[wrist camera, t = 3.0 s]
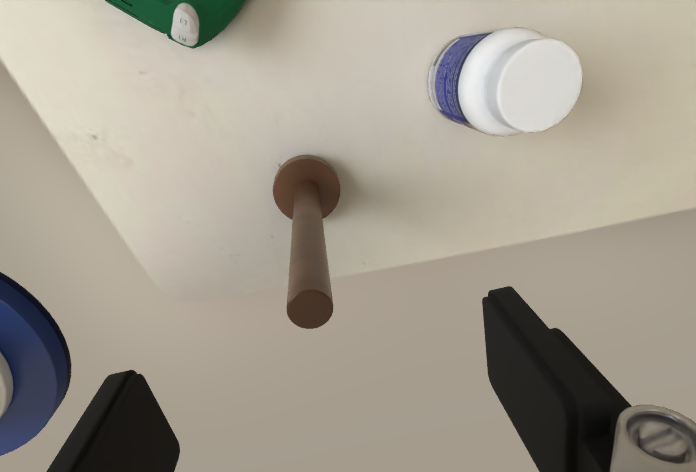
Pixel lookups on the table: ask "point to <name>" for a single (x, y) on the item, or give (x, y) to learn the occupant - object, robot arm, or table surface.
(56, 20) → the table surface
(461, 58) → the pill bottle
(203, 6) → the gaming controller
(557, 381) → the robot arm
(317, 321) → the stick
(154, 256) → the table surface
